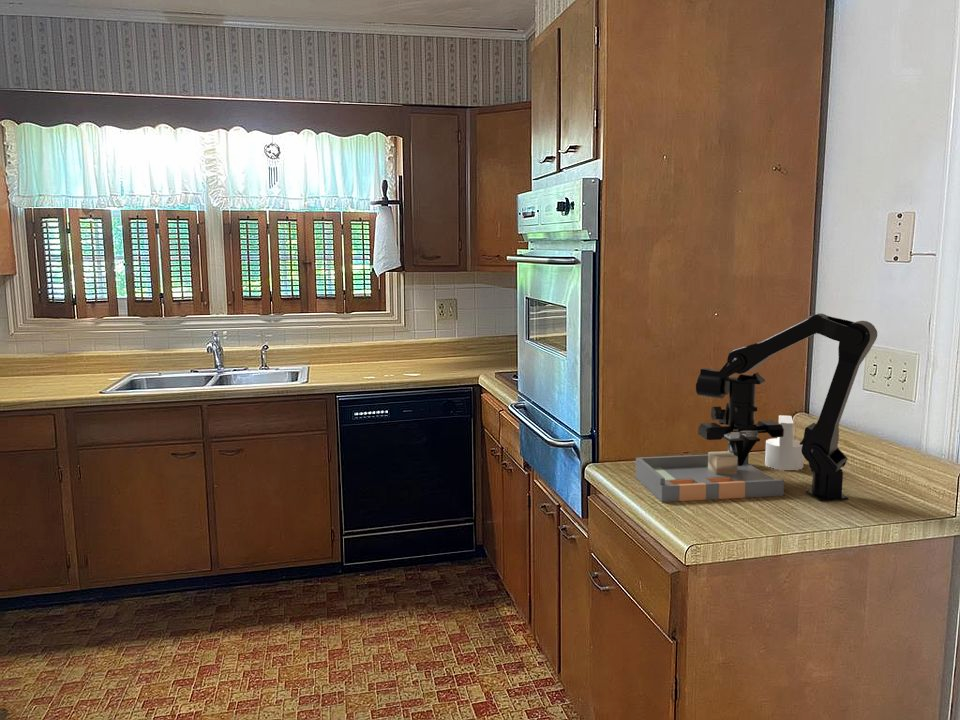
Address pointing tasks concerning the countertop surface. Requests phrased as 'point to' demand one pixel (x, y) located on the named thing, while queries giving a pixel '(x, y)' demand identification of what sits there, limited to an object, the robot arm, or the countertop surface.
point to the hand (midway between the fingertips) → (739, 465)
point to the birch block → (722, 462)
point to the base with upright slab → (784, 448)
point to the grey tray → (702, 479)
